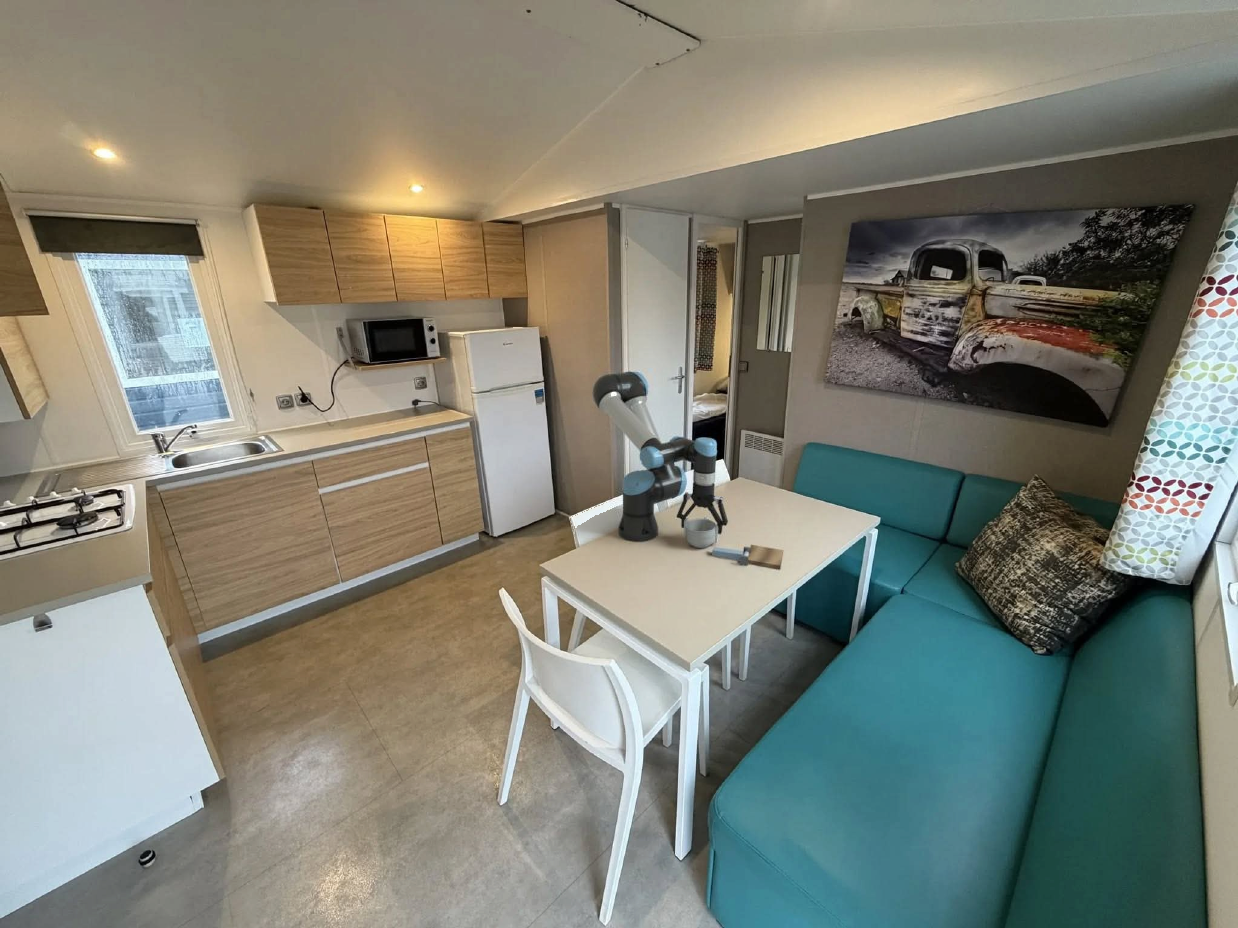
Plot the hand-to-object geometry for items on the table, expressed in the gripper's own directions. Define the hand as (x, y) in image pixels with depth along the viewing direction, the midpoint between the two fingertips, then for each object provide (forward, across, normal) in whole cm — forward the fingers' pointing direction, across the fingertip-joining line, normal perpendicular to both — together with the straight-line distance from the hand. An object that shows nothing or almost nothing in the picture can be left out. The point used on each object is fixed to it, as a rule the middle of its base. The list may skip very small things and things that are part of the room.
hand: (700, 538), depth 176 cm
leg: (+2, +12, -7) cm, 14 cm away
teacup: (+2, 0, 0) cm, 2 cm away
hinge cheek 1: (+1, +17, -4) cm, 18 cm away
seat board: (+1, +23, -4) cm, 23 cm away
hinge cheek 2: (+1, +17, -10) cm, 20 cm away
